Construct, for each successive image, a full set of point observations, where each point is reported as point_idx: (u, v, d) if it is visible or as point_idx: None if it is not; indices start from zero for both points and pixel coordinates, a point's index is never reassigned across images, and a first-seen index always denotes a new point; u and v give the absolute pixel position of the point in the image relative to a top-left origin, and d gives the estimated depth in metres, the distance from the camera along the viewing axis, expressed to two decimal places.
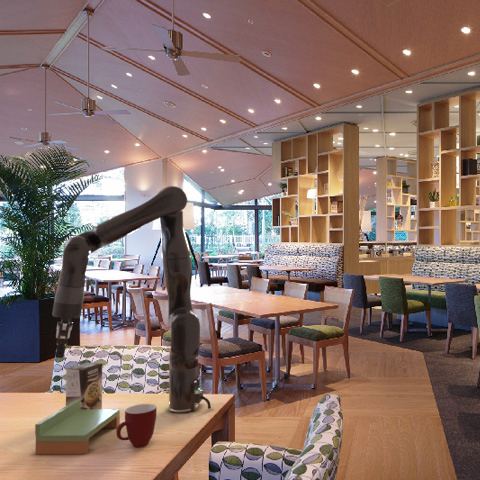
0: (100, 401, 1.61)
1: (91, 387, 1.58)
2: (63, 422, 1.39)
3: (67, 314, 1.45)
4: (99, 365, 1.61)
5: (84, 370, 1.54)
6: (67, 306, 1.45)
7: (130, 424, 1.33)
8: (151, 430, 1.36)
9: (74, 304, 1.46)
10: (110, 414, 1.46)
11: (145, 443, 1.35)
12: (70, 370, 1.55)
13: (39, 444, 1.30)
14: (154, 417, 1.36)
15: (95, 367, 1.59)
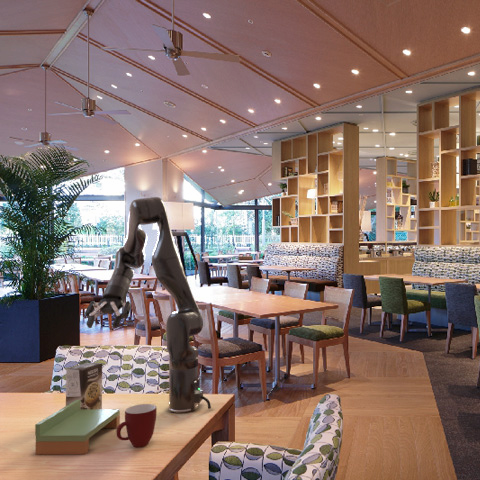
0: (100, 401, 1.61)
1: (92, 387, 1.58)
2: (63, 422, 1.39)
3: None
4: (99, 365, 1.61)
5: (84, 370, 1.54)
6: None
7: (130, 424, 1.33)
8: (151, 430, 1.36)
9: None
10: (110, 414, 1.46)
11: (145, 443, 1.35)
12: (70, 370, 1.55)
13: (39, 444, 1.30)
14: (154, 417, 1.36)
15: (95, 367, 1.59)
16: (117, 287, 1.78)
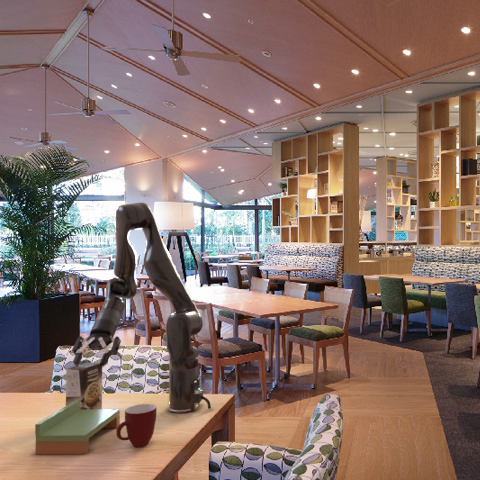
0: (100, 401, 1.61)
1: (91, 387, 1.58)
2: (63, 422, 1.39)
3: None
4: (99, 365, 1.61)
5: (84, 370, 1.54)
6: None
7: (130, 424, 1.33)
8: (151, 430, 1.36)
9: (94, 322, 1.71)
10: (110, 414, 1.46)
11: (145, 443, 1.35)
12: (70, 370, 1.55)
13: (39, 444, 1.30)
14: (154, 417, 1.36)
15: (95, 367, 1.59)
16: (106, 321, 1.69)
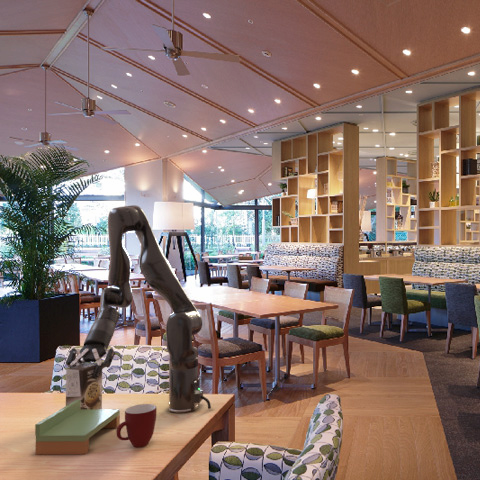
0: (100, 401, 1.61)
1: (91, 387, 1.57)
2: (63, 422, 1.39)
3: None
4: None
5: (84, 370, 1.54)
6: None
7: (130, 424, 1.33)
8: (151, 430, 1.36)
9: (88, 333, 1.67)
10: (110, 414, 1.46)
11: (145, 443, 1.35)
12: (70, 370, 1.55)
13: (39, 444, 1.30)
14: (154, 417, 1.36)
15: (95, 367, 1.59)
16: (100, 332, 1.66)
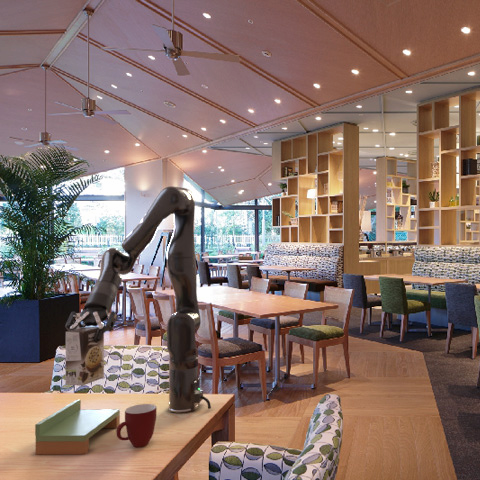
0: (102, 367, 1.53)
1: (93, 351, 1.49)
2: (63, 422, 1.39)
3: None
4: None
5: (84, 332, 1.46)
6: None
7: (130, 424, 1.33)
8: (151, 430, 1.36)
9: None
10: (110, 414, 1.46)
11: (145, 443, 1.35)
12: (70, 333, 1.46)
13: (39, 444, 1.30)
14: (154, 417, 1.36)
15: (96, 330, 1.50)
16: (101, 295, 1.57)
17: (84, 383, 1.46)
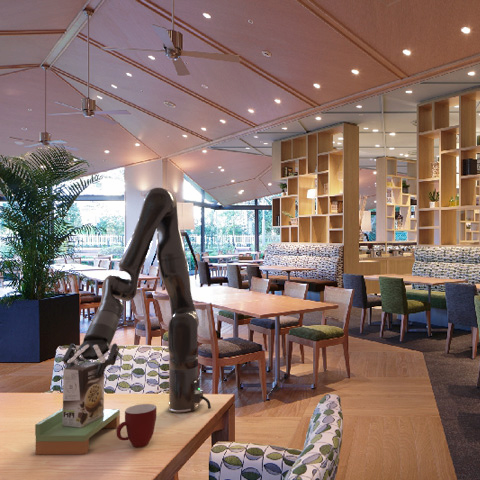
0: (102, 405, 1.43)
1: (92, 389, 1.39)
2: None
3: None
4: None
5: (84, 370, 1.36)
6: None
7: (130, 424, 1.33)
8: (151, 430, 1.36)
9: None
10: (110, 414, 1.46)
11: (145, 443, 1.35)
12: (68, 370, 1.36)
13: (39, 444, 1.30)
14: (154, 417, 1.36)
15: (96, 367, 1.41)
16: (102, 326, 1.47)
17: (83, 425, 1.36)
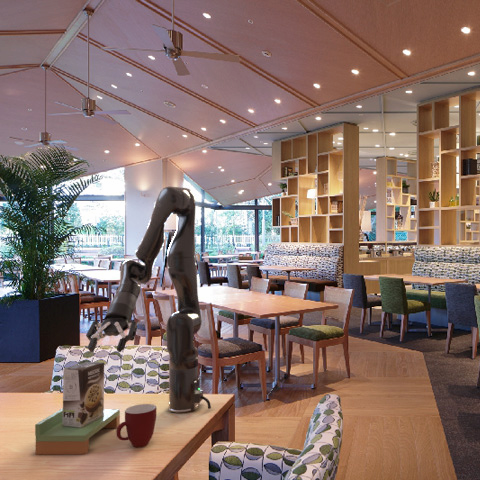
0: (102, 405, 1.43)
1: (92, 389, 1.39)
2: None
3: None
4: (101, 365, 1.42)
5: (84, 370, 1.36)
6: None
7: (130, 424, 1.33)
8: (151, 430, 1.36)
9: (109, 306, 1.61)
10: (110, 414, 1.46)
11: (145, 443, 1.35)
12: (68, 370, 1.36)
13: (39, 444, 1.30)
14: (154, 417, 1.36)
15: (96, 367, 1.41)
16: (122, 305, 1.60)
17: (83, 425, 1.36)
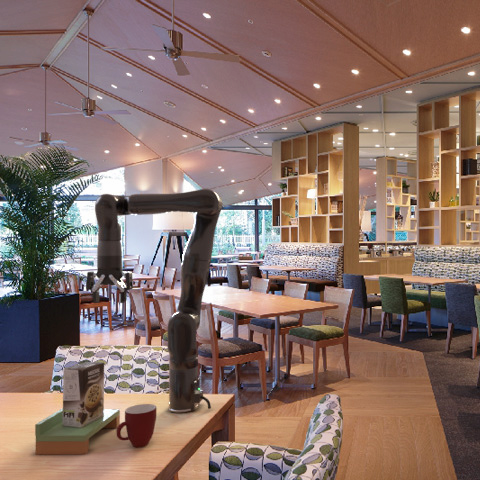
0: (102, 405, 1.43)
1: (92, 389, 1.39)
2: None
3: None
4: (101, 365, 1.42)
5: (84, 370, 1.36)
6: None
7: (130, 424, 1.33)
8: (151, 430, 1.36)
9: (97, 255, 1.61)
10: (110, 414, 1.46)
11: (145, 443, 1.35)
12: (68, 370, 1.36)
13: (39, 444, 1.30)
14: (154, 417, 1.36)
15: (96, 367, 1.41)
16: (110, 258, 1.59)
17: (83, 425, 1.36)
